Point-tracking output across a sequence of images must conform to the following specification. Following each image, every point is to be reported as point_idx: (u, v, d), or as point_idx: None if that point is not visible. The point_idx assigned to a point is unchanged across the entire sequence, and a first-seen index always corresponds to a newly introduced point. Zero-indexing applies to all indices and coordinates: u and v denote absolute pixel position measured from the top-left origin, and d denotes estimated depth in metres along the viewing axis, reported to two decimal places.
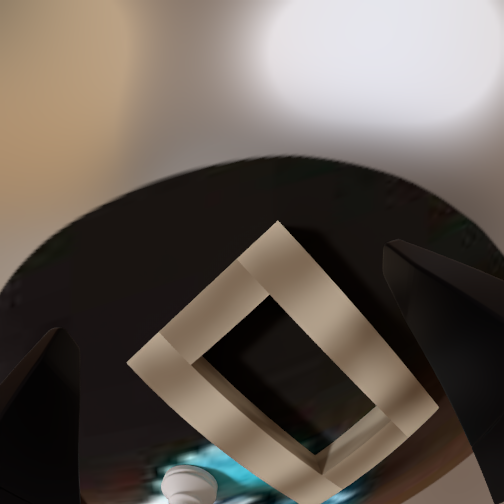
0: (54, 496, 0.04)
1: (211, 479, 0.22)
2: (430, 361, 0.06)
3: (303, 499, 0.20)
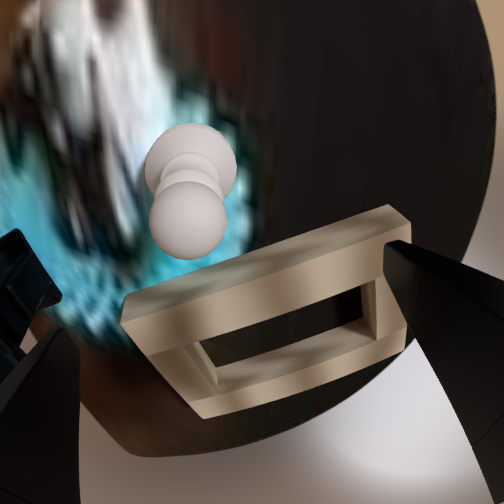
0: (54, 496, 0.04)
1: None
2: (430, 361, 0.06)
3: (145, 322, 0.19)
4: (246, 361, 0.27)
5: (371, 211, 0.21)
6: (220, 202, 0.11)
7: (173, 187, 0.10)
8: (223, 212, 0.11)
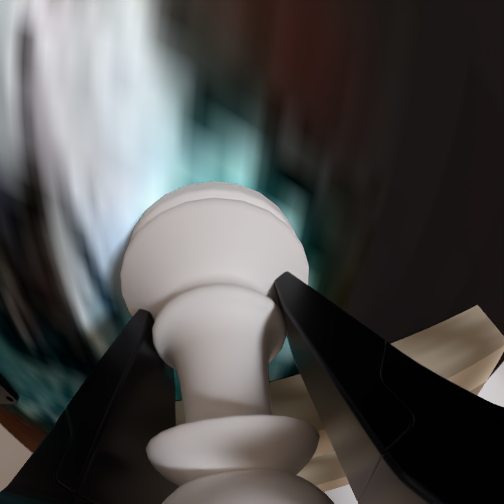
0: None
1: None
2: (314, 405, 0.06)
3: None
4: None
5: (458, 316, 0.13)
6: None
7: None
8: None
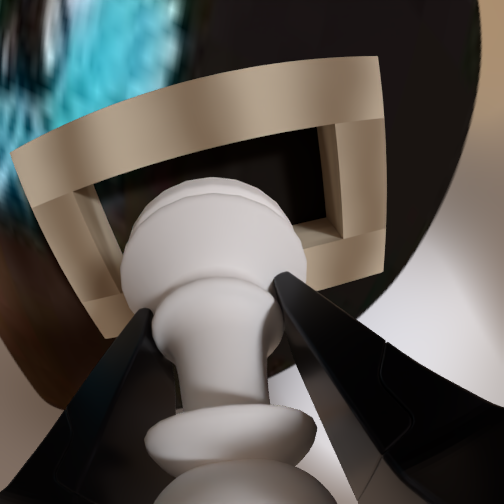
0: None
1: None
2: (314, 405, 0.06)
3: (35, 150, 0.13)
4: None
5: None
6: None
7: None
8: None
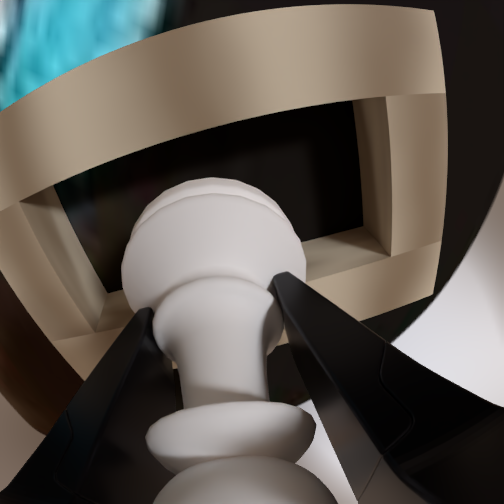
0: None
1: None
2: (314, 405, 0.06)
3: None
4: None
5: None
6: None
7: None
8: None
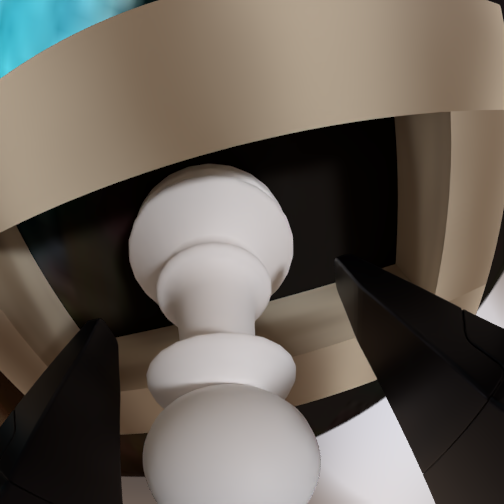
0: (96, 502, 0.04)
1: None
2: (380, 382, 0.06)
3: None
4: (143, 337, 0.12)
5: None
6: (316, 452, 0.04)
7: (205, 440, 0.03)
8: (319, 470, 0.04)
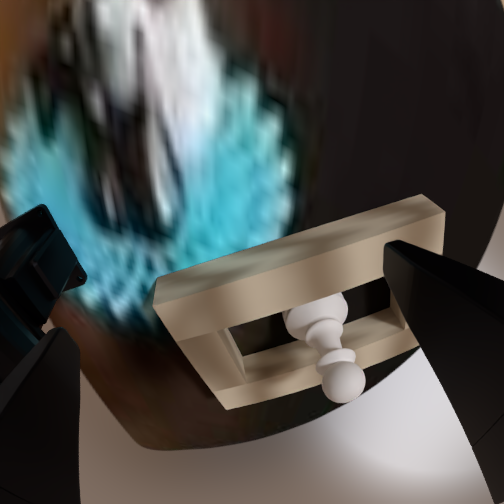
0: (54, 496, 0.04)
1: None
2: (430, 361, 0.06)
3: (180, 305, 0.19)
4: (274, 350, 0.26)
5: (406, 200, 0.20)
6: (364, 375, 0.18)
7: (343, 372, 0.17)
8: None
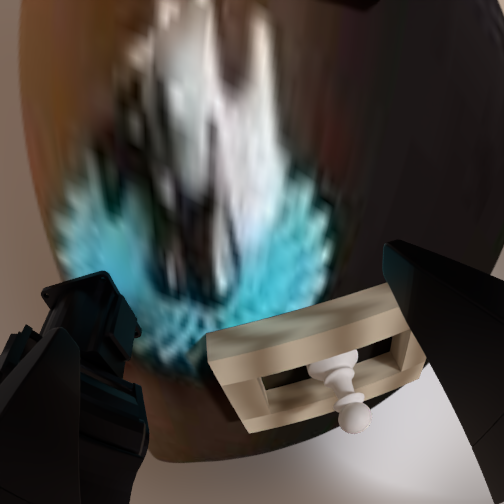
0: (54, 496, 0.04)
1: None
2: (430, 361, 0.06)
3: (231, 361, 0.23)
4: (293, 386, 0.30)
5: None
6: None
7: (357, 412, 0.21)
8: (371, 417, 0.22)
